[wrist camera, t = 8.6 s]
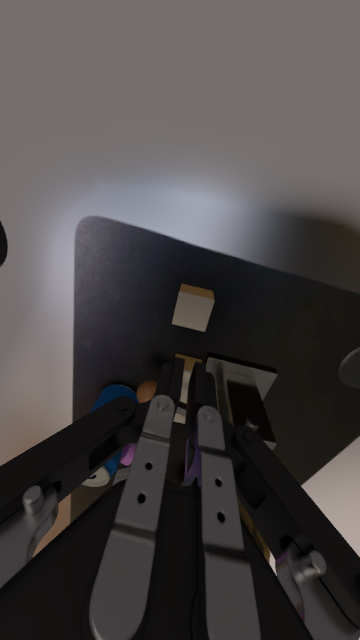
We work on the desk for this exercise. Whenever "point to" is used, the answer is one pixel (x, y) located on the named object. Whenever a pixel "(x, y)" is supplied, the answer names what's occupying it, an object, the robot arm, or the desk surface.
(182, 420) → the cake
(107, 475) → the beverage can
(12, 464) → the robot arm
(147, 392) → the lever
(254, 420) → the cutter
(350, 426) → the desk surface
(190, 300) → the cake slice
